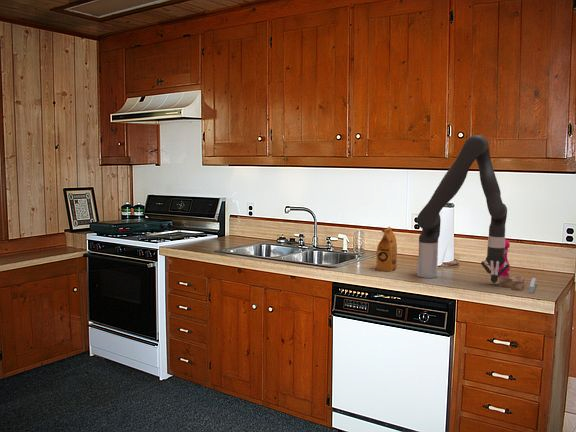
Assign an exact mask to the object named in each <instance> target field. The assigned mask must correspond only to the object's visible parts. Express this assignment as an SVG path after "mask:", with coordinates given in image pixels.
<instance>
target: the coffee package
mask: <svg viewBox="0 0 576 432" xmlns="http://www.w3.org/2000/svg"><path fill="white" fill-rule="evenodd" d="M381 232H382V233H384V234H382V238H381V240H380V241H379V242H378V244H377V248H376V267H375V268H376V270H377V271H378V272H379V271H380V272H386V273H389V272H392V271H396V269H397V265H398V264H397V259H398V258H397V255H398V247H397V237H396V235H395V233H394V231H393V230H392V228H391V227H390V226H387V228H383V229H382V230H381Z"/></svg>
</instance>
